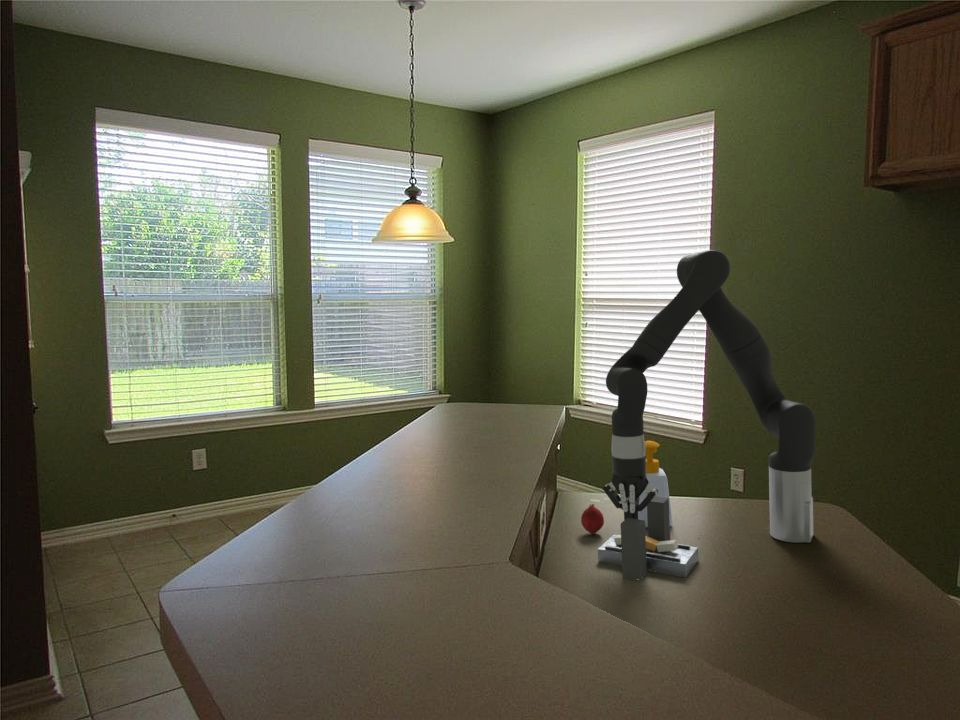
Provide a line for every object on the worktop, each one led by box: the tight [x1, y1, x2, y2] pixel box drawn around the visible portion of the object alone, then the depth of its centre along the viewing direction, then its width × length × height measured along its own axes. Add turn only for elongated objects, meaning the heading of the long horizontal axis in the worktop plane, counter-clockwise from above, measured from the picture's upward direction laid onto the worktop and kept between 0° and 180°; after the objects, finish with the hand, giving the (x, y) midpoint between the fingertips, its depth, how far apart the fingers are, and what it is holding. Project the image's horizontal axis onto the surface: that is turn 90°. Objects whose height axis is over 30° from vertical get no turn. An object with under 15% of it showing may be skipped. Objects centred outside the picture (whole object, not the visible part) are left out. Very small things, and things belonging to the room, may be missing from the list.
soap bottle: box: [638, 440, 673, 528], centre depth 170 cm, size 10×14×22 cm
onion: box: [580, 503, 605, 535], centre depth 165 cm, size 6×6×8 cm
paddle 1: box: [614, 534, 621, 545], centre depth 150 cm, size 4×2×2 cm, turn 56°
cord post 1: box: [620, 518, 648, 581], centre depth 139 cm, size 4×4×12 cm
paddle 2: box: [656, 539, 679, 552], centre depth 144 cm, size 4×2×2 cm, turn 56°
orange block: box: [645, 535, 659, 551], centre depth 146 cm, size 4×2×2 cm, turn 57°
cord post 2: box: [647, 496, 671, 541], centre depth 153 cm, size 4×4×12 cm
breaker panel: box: [597, 533, 699, 578], centre depth 147 cm, size 20×10×4 cm, turn 57°
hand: (631, 526), depth 148 cm, fingers closed
